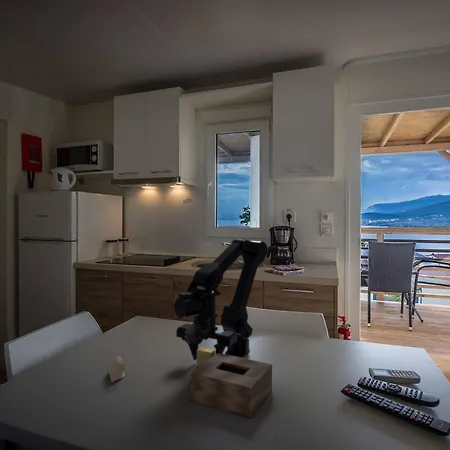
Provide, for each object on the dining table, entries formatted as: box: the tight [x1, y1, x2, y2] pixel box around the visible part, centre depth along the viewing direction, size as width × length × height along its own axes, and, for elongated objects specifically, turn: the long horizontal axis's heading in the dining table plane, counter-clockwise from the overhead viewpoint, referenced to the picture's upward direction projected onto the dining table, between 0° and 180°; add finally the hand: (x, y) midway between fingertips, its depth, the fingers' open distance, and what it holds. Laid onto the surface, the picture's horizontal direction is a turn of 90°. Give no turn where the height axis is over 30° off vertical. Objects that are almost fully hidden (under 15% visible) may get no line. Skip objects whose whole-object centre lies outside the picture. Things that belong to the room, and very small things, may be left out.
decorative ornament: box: [108, 356, 126, 383], centre depth 95 cm, size 4×8×5 cm, turn 24°
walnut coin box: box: [190, 353, 273, 419], centre depth 85 cm, size 16×14×7 cm
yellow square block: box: [196, 346, 216, 367], centre depth 102 cm, size 5×2×5 cm, turn 62°
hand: (205, 362), depth 103 cm, fingers open, 7 cm apart
